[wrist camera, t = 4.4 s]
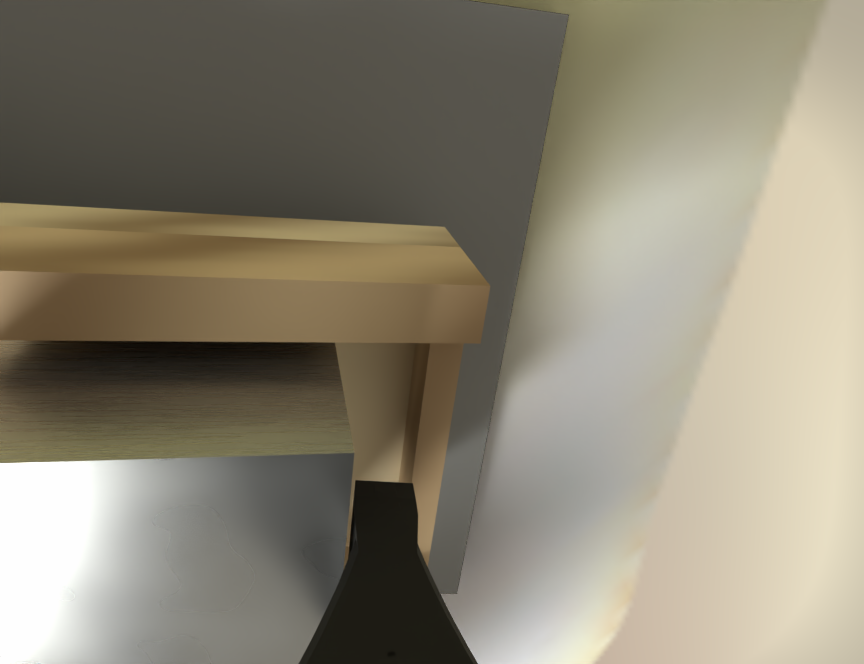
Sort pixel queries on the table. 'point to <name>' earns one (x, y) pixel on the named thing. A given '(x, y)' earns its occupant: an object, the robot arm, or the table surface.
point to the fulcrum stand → (299, 137)
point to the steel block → (169, 500)
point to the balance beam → (267, 308)
